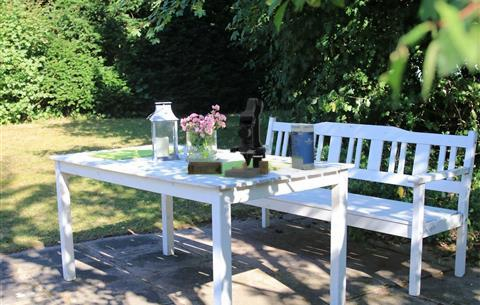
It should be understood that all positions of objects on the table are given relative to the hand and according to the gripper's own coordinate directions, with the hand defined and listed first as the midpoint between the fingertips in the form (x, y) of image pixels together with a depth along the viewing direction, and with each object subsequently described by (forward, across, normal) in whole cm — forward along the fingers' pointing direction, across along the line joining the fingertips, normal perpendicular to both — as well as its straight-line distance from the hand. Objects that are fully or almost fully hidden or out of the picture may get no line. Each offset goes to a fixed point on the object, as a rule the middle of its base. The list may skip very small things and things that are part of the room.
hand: (248, 165), depth 308 cm
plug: (+6, +6, +9) cm, 12 cm away
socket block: (+5, -3, 0) cm, 6 cm away
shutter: (+2, -4, 0) cm, 5 cm away
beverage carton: (+6, -27, +3) cm, 28 cm away
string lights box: (+6, +21, +34) cm, 40 cm away
